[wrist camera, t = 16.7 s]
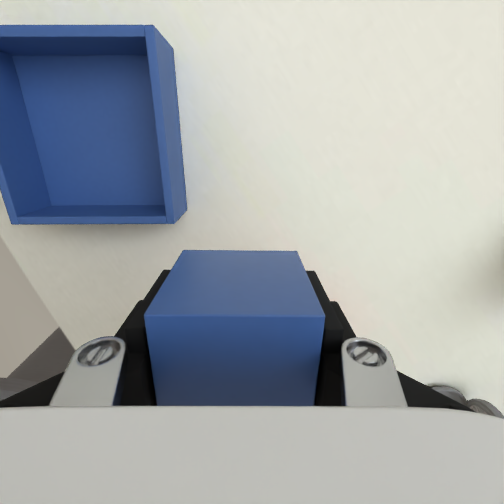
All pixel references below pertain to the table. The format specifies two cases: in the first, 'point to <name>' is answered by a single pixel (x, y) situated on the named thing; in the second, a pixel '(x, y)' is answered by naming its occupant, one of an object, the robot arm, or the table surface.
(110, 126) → the blue bin
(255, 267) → the blue block
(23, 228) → the table surface
